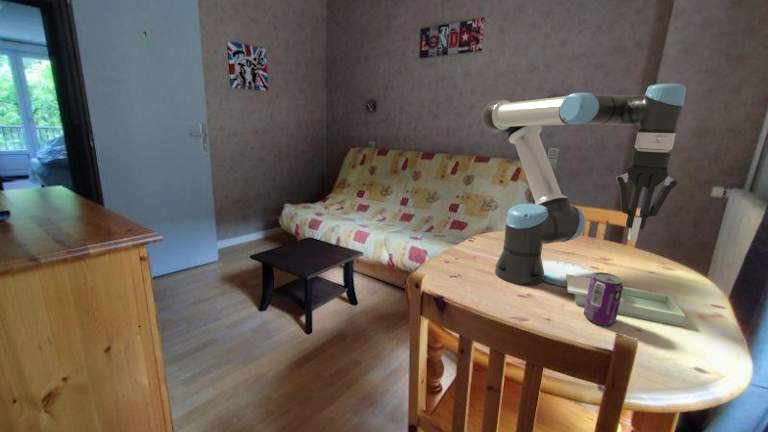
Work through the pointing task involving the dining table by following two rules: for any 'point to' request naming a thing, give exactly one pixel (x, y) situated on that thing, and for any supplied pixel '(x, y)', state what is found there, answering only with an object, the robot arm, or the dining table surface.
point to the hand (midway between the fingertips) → (631, 239)
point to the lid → (579, 285)
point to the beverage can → (603, 298)
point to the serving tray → (646, 306)
